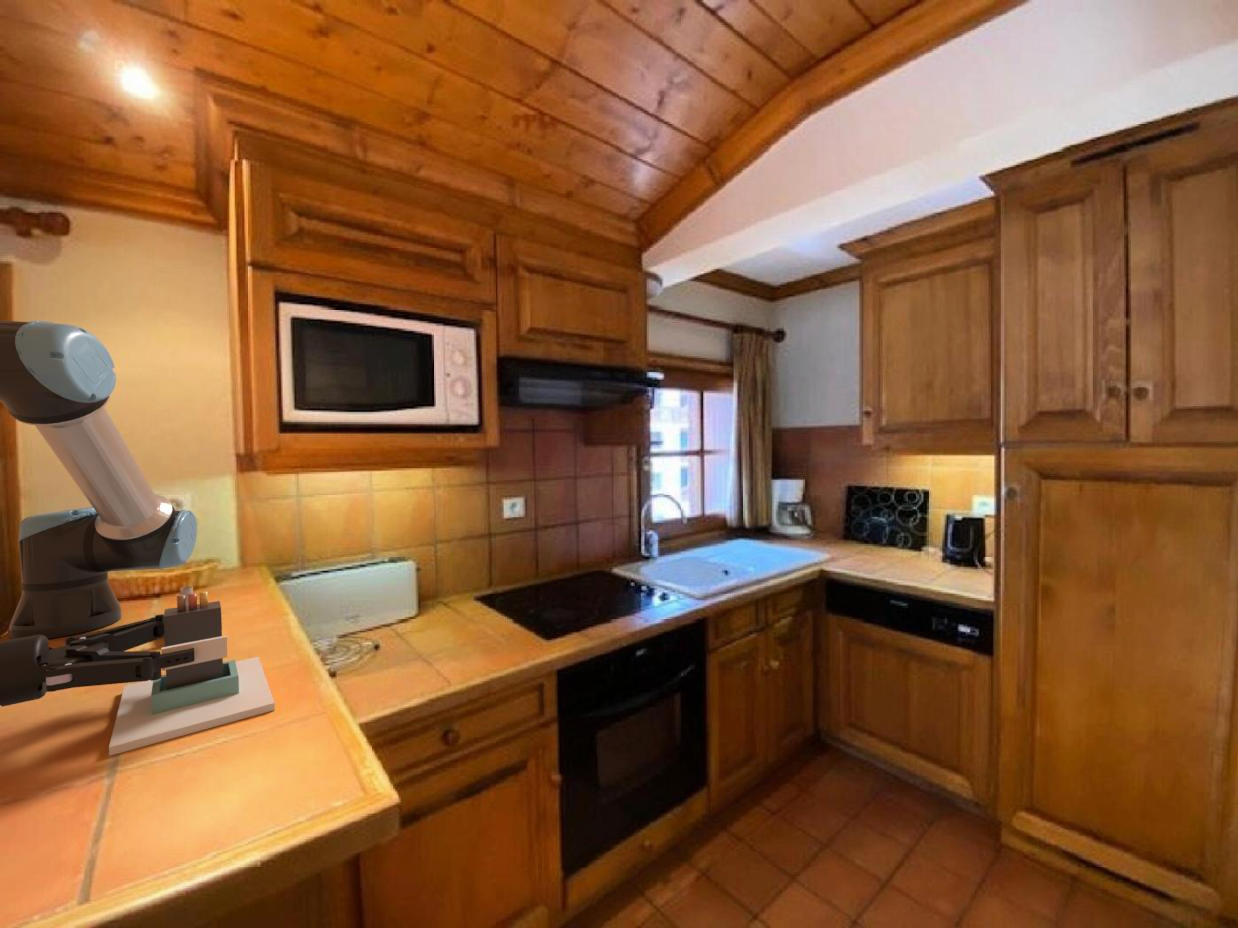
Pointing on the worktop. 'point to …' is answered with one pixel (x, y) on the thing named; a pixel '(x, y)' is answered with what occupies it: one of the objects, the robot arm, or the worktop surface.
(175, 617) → the block
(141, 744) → the header board
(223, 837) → the worktop surface
